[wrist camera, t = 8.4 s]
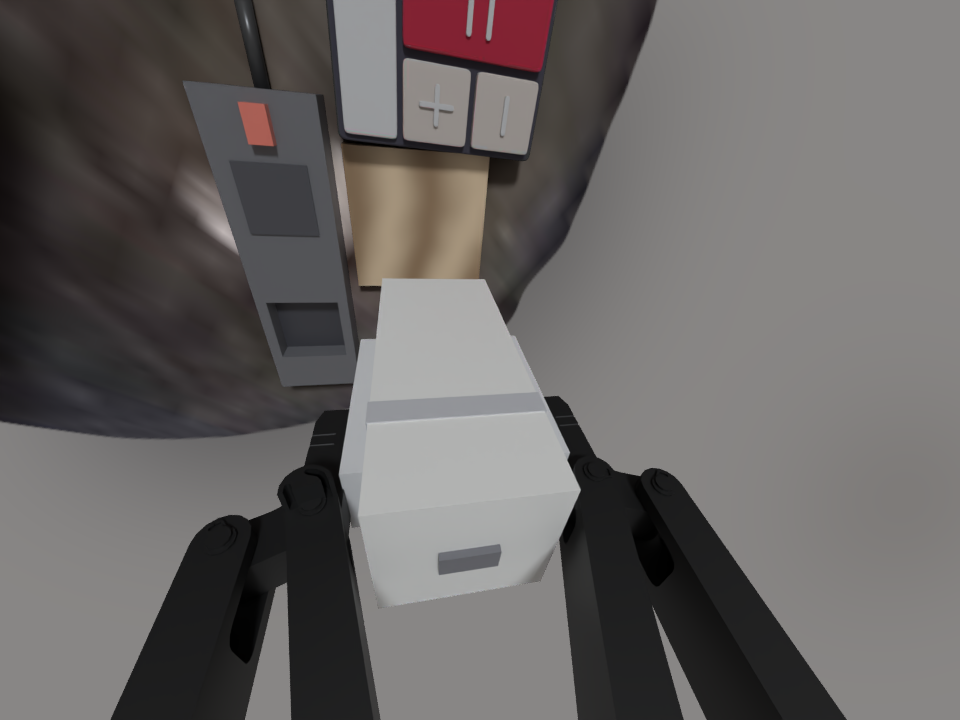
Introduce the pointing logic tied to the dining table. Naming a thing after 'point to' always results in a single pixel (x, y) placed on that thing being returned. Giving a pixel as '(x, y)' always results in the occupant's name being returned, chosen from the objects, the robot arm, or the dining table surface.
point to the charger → (455, 450)
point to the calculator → (440, 72)
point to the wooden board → (415, 212)
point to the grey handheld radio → (282, 215)
